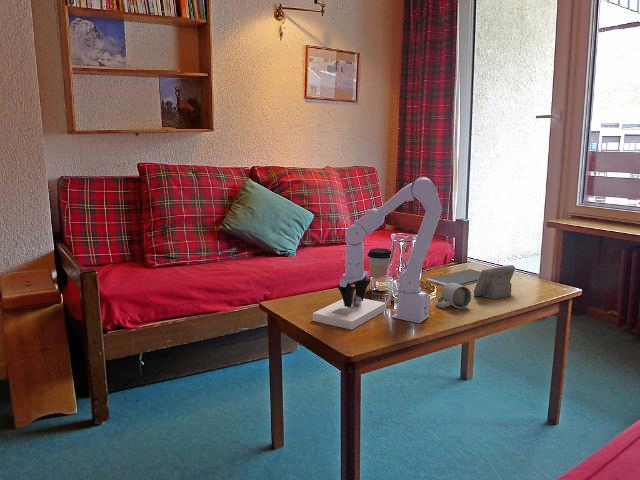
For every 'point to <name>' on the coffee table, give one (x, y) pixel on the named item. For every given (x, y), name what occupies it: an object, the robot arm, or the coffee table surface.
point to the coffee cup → (378, 261)
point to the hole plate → (349, 313)
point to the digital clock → (495, 282)
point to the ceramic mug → (454, 296)
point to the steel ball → (356, 300)
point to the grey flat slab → (457, 278)
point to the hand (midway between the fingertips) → (353, 303)
